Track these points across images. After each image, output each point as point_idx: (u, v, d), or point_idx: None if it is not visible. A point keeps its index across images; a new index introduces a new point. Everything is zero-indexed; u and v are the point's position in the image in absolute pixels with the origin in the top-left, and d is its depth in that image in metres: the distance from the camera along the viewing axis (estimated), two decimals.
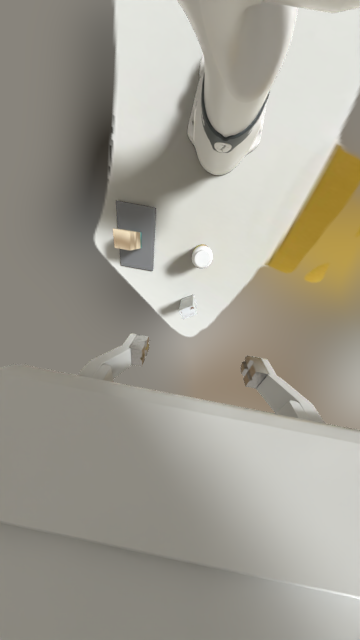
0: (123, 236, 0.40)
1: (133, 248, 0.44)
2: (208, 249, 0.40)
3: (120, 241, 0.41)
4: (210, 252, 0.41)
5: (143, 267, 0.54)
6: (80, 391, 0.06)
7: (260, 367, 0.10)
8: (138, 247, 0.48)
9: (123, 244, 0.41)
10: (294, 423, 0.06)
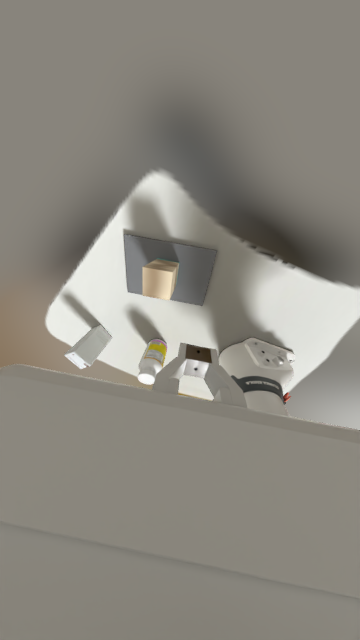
0: (162, 289, 0.24)
1: None
2: None
3: (154, 282, 0.23)
4: None
5: (129, 278, 0.34)
6: (80, 391, 0.06)
7: (205, 357, 0.10)
8: None
9: (150, 285, 0.24)
10: (294, 423, 0.06)
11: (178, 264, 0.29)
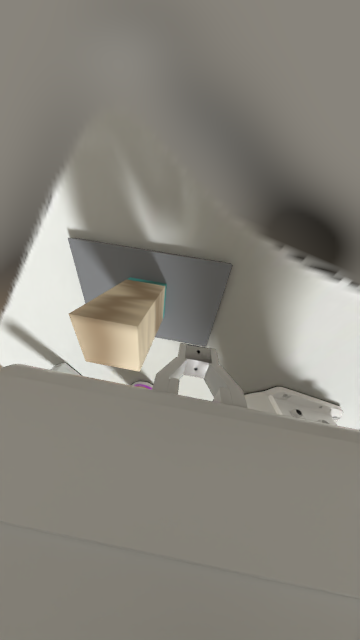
0: (120, 353, 0.11)
1: None
2: None
3: (102, 341, 0.11)
4: None
5: None
6: (80, 391, 0.06)
7: (205, 357, 0.10)
8: None
9: (95, 347, 0.11)
10: (294, 423, 0.06)
11: (163, 289, 0.16)
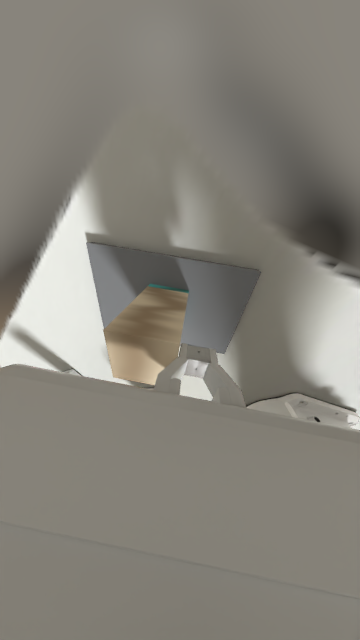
0: (154, 370, 0.10)
1: None
2: None
3: (136, 358, 0.10)
4: None
5: (105, 313, 0.20)
6: (80, 391, 0.06)
7: (204, 357, 0.10)
8: None
9: (126, 364, 0.10)
10: (294, 423, 0.06)
11: (187, 297, 0.15)
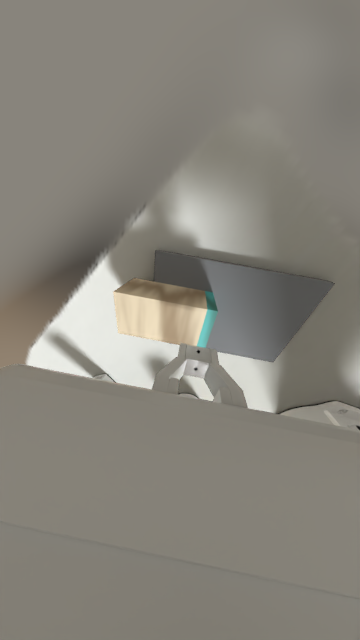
0: None
1: None
2: None
3: None
4: None
5: None
6: (80, 391, 0.06)
7: (205, 357, 0.10)
8: None
9: None
10: (294, 423, 0.06)
11: (196, 308, 0.13)
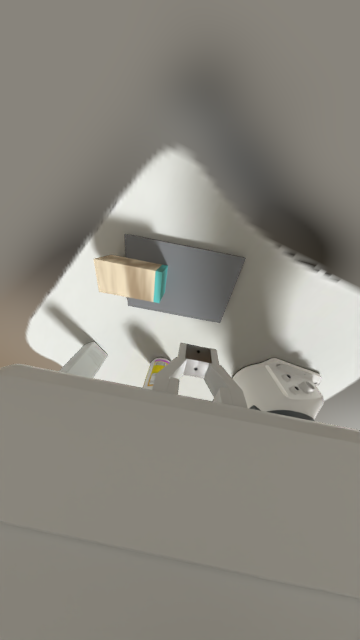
0: None
1: None
2: None
3: None
4: None
5: None
6: (80, 391, 0.06)
7: (205, 357, 0.10)
8: None
9: None
10: (294, 423, 0.06)
11: (148, 270, 0.20)
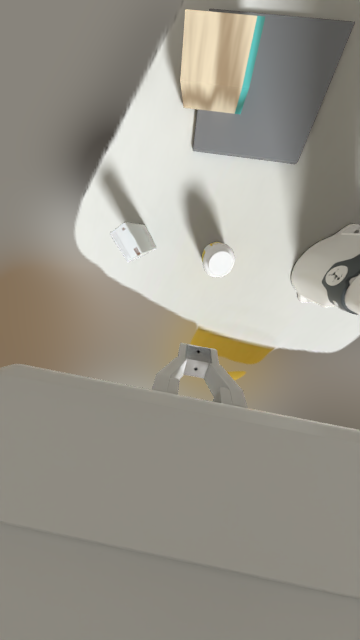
0: None
1: (197, 107, 0.23)
2: None
3: None
4: None
5: (200, 117, 0.24)
6: (80, 391, 0.06)
7: (205, 357, 0.10)
8: (223, 110, 0.23)
9: None
10: (294, 423, 0.06)
11: (248, 17, 0.17)
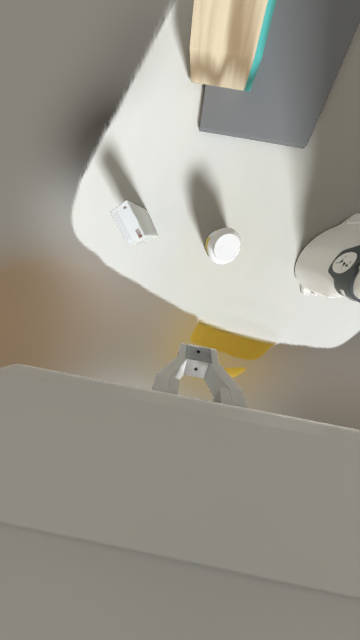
0: None
1: (206, 82, 0.22)
2: None
3: None
4: None
5: (208, 93, 0.23)
6: (80, 391, 0.06)
7: (205, 357, 0.10)
8: (232, 86, 0.22)
9: None
10: (294, 423, 0.06)
11: None
